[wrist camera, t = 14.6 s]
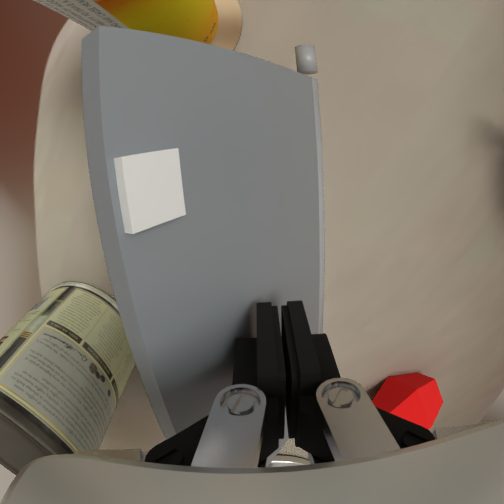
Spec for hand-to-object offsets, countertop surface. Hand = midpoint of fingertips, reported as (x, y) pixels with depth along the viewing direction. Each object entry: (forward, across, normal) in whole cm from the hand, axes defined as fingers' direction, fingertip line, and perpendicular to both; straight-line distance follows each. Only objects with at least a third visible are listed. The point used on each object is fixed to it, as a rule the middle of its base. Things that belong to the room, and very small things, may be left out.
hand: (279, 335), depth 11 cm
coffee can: (+11, +16, +8) cm, 21 cm away
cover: (+2, +1, 0) cm, 2 cm away
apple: (+11, -12, +16) cm, 23 cm away
